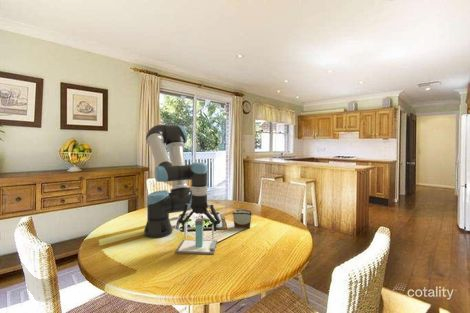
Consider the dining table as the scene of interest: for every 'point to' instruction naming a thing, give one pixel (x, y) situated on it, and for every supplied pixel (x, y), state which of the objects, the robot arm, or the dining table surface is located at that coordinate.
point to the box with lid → (199, 232)
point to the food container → (242, 218)
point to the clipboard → (191, 248)
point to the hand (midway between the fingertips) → (199, 237)
